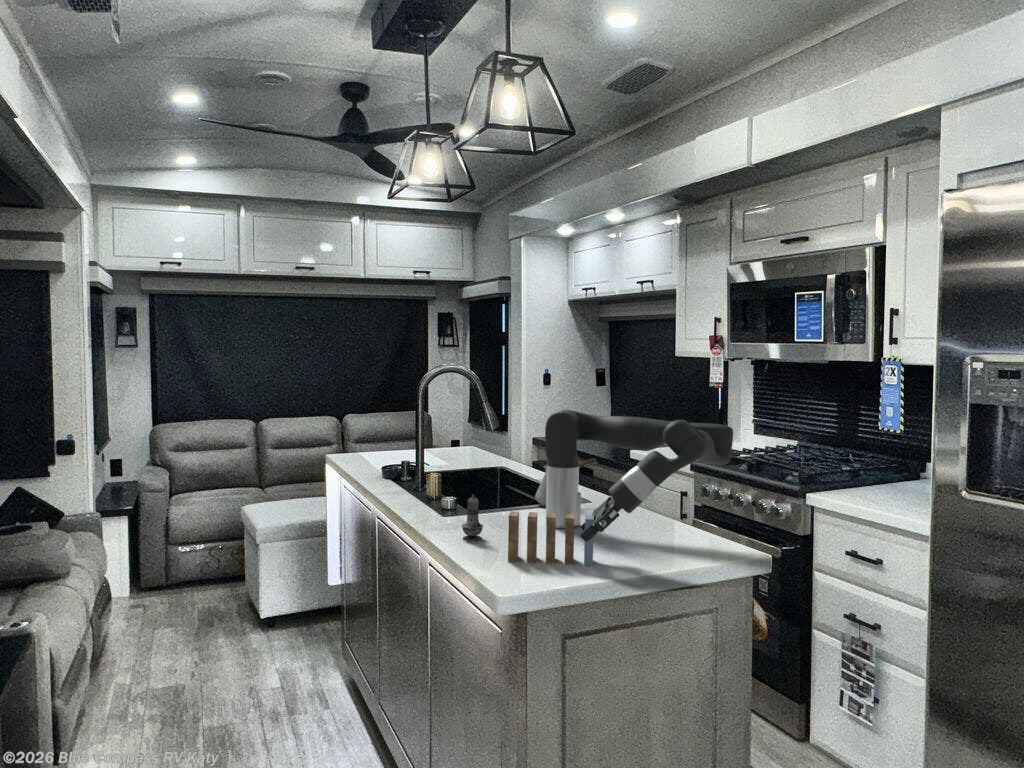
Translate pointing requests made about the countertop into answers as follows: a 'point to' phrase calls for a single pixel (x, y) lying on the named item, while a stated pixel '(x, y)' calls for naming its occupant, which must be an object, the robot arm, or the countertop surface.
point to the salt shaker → (472, 521)
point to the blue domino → (588, 545)
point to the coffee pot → (543, 486)
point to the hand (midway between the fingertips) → (583, 534)
